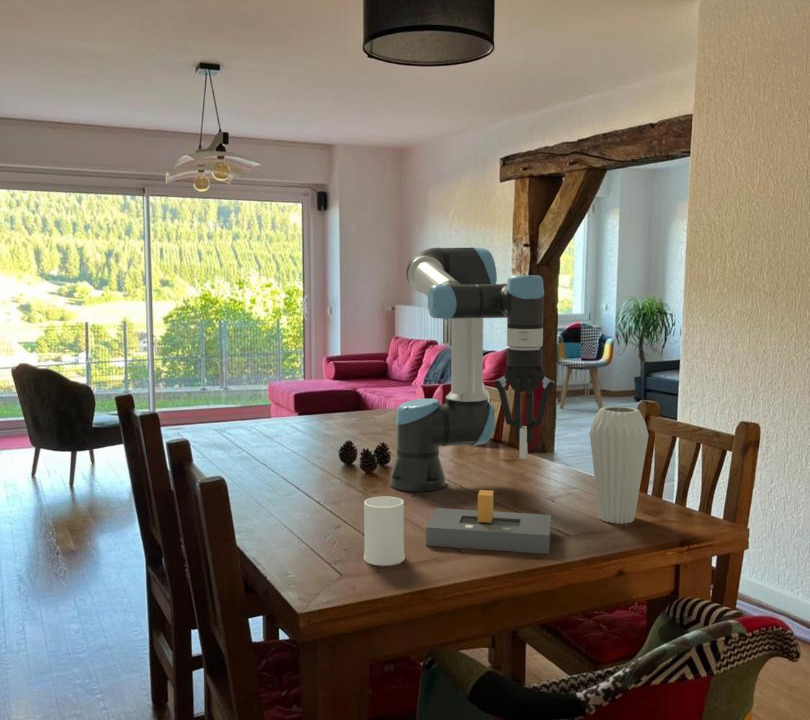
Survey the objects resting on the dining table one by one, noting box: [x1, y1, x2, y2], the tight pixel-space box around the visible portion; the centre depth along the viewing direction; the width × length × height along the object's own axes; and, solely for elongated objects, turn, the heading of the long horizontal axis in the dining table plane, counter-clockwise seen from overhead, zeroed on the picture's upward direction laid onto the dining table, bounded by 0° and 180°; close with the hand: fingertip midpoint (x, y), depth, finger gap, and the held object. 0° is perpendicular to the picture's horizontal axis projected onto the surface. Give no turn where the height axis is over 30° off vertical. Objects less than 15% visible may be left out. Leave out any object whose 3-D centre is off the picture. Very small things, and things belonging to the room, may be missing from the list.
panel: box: [425, 507, 552, 555], centre depth 174 cm, size 26×14×4 cm, turn 78°
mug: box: [363, 495, 406, 567], centre depth 163 cm, size 12×8×12 cm
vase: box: [589, 405, 650, 525], centre depth 186 cm, size 13×13×26 cm
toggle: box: [477, 489, 494, 523], centre depth 173 cm, size 3×4×6 cm
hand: (523, 457), depth 170 cm, fingers closed
